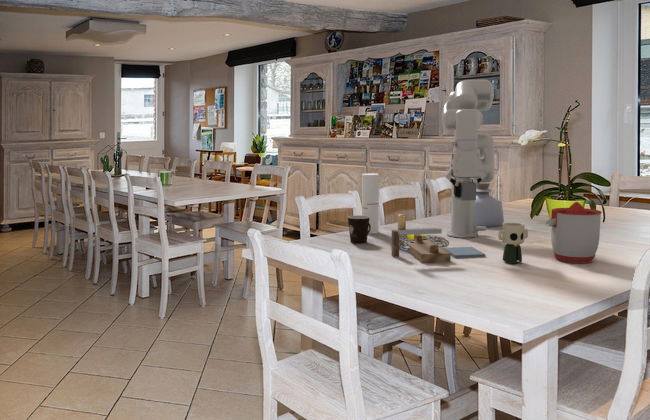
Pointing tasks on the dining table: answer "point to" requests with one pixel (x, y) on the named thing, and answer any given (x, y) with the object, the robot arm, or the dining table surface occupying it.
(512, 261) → the character mug
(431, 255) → the plane
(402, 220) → the latch
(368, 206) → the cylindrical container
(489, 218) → the bottle
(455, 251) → the mat
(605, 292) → the dining table surface
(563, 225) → the citrus juicer
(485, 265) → the dining table surface
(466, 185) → the dark grey block
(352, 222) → the coffee mug
